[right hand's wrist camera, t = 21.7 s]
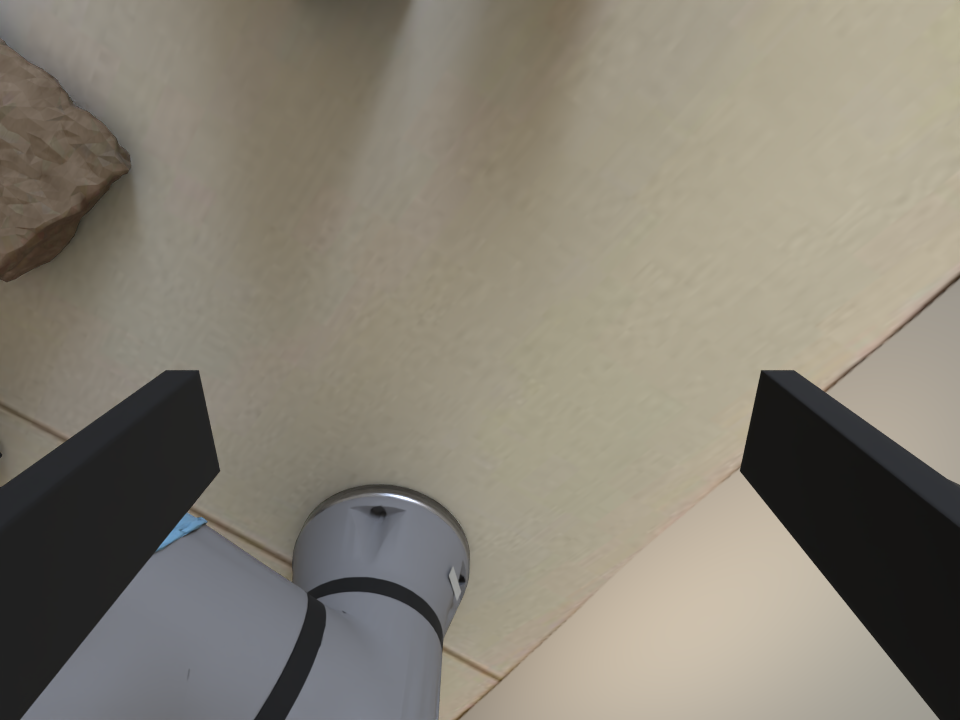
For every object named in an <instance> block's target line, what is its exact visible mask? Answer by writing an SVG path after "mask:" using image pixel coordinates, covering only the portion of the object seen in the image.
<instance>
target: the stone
mask: <svg viewBox="0 0 960 720" xmlns="http://www.w3.org/2000/svg"><path fill="white" fill-rule="evenodd" d="M130 168H131V163H130V155H129V154H128V152H127V151H126V150H125V149H124V148H123V147H121V146H120V145H119V144H118V141H117V139H116V137H115V136H114V135H113V134H112V133H111V132H110V131H109V130H108V128H107V127H106V126H105V125H104V124H103V123H102V122H101V121H99V120H98V119H97V118H95V117H94V116H92V115H91V114H90V113H89V112H87V111H85V110H83V109H81V108H79V107H77V106H75V105H74V104H73V102H72V100H71V99H70V97H69V96H68V94H67V93H66V92H65V91H64V90H63V89H62V88H61V86H60V84H59V82H58V80H57V79H55V78H54V77H53V76H51V75H50V74H48V73H47V72H46V71H44V70H43V69H41V68H39V67H37V66H35V65H33V64H31V63H29V62H28V61H27V60H26V59H24V58H23V57H22V56H21V55H19V54H18V53H17V52H15V51H14V50H13V49H11V48H10V47H8V46H7V45H6V43H5V41H3V40H2V39H0V279H1V280H3V281H6V282H8V281H11V280H14V279H16V278H18V277H19V276H20V275H22V274H24V273H26V272H28V271H30V270H32V269H34V268H36V267H38V266H40V265H42V264H45V263H47V262H50V261H51V260H52V259H53V258H54V257H55V256H57V255H58V254H59V253H60V252H61V251H62V249H63V248H64V247H65V246H66V245H67V244H68V243H69V242H70V240H71V238H72V237H73V236H74V235H75V232H76V229H77V226H78V224H79V222H80V219H81V217H82V216H84V215H85V214H86V213H87V212H88V211H89V210H90V209H91V208H92V207H93V206H94V205H95V204H96V202H97V201H98V200H99V199H100V198H101V197H102V196H103V195H104V194H105V193H106V192H107V191H108V190H109V188H110V186H111V184H112V183H113V182H114V181H116V180H118V179H119V178H120V177H121V176H122V175H123V174H127V173H128V171H129V170H130Z"/></svg>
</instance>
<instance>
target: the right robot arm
mask: <svg viewBox="0 0 960 720" xmlns="http://www.w3.org/2000/svg"><path fill="white" fill-rule="evenodd" d="M219 472H220V468H219V463H218V459H217V454H216V449H215V445H214V440H213V435H212V430H211V426H210V421H209V416H208V412H207V407H206V402H205V397H204V393H203V388H202V383H201V379H200V374H199V370H166V371H164V372H163V373H162V374H160V375H159V376H157V377H156V378H154V379H153V380H152V381H150V382H149V383H147V384H146V385H145V386H143V387H142V388H140V389H139V390H138V391H136V392H135V393H133V394H132V395H131V396H129V397H128V398H126V399H125V400H123V401H122V402H121V403H119V404H118V405H116V406H115V407H114V408H112V409H111V410H109V411H108V412H107V413H105V414H104V415H102V416H101V417H100V418H98V419H97V420H95V421H94V422H92V423H91V424H90V425H88V426H87V427H85V428H84V429H83V430H81V431H80V432H78V433H77V434H76V435H74V436H73V437H71V438H70V439H69V440H67V441H66V442H64V443H63V444H61V445H60V446H59V447H57V448H56V449H54V450H53V451H52V452H50V453H49V454H47V455H46V456H45V457H43V458H42V459H40V460H39V461H38V462H36V463H35V464H33V465H32V466H30V467H29V468H28V469H26V470H25V471H23V472H22V473H21V474H19V475H18V476H16V477H15V478H14V479H12V480H11V481H9V482H8V483H6V484H5V485H4V486H2V487H0V720H438V717H439V700H440V683H441V666H442V649H443V638H444V636H445V634H446V632H447V630H448V628H449V625H450V623H451V621H452V619H453V617H454V615H455V613H456V610H457V608H458V606H459V604H460V602H461V600H462V598H463V595H464V593H465V590H466V587H467V583H468V579H469V565H470V553H469V546H468V542H467V539H466V536H465V533H464V532H463V530H462V528H461V526H460V525H459V523H458V522H457V520H456V519H455V518H454V517H453V515H452V514H451V513H450V512H449V511H448V510H447V509H445V508H444V507H443V506H442V505H440V504H439V503H438V502H436V501H435V500H433V499H431V498H429V497H428V496H426V495H423V494H421V493H419V492H416V491H413V490H410V489H407V488H403V487H398V486H392V485H365V486H359V487H355V488H351V489H347V490H345V491H342V492H339V493H337V494H335V495H333V496H331V497H330V498H328V499H326V500H325V501H324V502H322V503H321V504H320V505H319V506H318V507H317V508H315V509H314V511H313V512H312V513H311V514H310V515H309V517H308V518H307V520H306V522H305V524H304V526H303V528H302V530H301V532H300V534H299V536H298V538H297V541H296V544H295V547H294V552H293V561H292V569H293V581H292V582H291V581H289V580H287V579H286V578H284V577H283V576H281V575H280V574H278V573H277V572H275V571H274V570H272V569H270V568H269V567H267V566H266V565H264V564H263V563H261V562H260V561H259V560H257V559H256V558H254V557H253V556H251V555H250V554H248V553H247V552H245V551H244V550H242V549H241V548H239V547H238V546H236V545H235V544H234V543H232V542H231V541H229V540H228V539H226V538H225V537H223V536H222V535H220V534H219V533H217V532H216V531H214V530H213V529H211V528H210V527H208V526H207V525H206V523H207V522H208V521H206V520H205V519H204V518H202V517H199V518H195V517H194V516H192V515H190V514H189V513H187V512H188V510H189V509H190V508H191V507H192V505H193V504H194V503H195V502H196V500H197V499H198V498H199V497H200V495H201V494H202V493H203V492H204V490H205V489H206V488H207V487H208V485H209V484H210V483H211V482H212V480H213V479H214V478H215V477H216V475H217V474H218V473H219ZM740 472H741V473H742V474H743V475H744V477H745V478H746V479H747V480H748V482H749V483H750V484H751V485H752V487H753V488H754V489H755V490H756V492H757V493H758V494H759V495H760V497H761V498H762V499H763V500H764V502H765V503H766V504H767V505H768V507H769V508H770V509H771V510H772V512H773V513H774V514H775V515H776V517H777V518H778V519H779V520H780V522H781V523H782V524H783V525H784V527H785V528H786V529H787V530H788V531H789V533H790V534H791V535H792V536H793V538H794V539H795V540H796V541H797V543H798V544H799V545H800V546H801V548H802V549H803V550H804V551H805V553H806V554H807V555H808V556H809V558H810V559H811V560H812V561H813V563H814V564H815V565H816V566H817V568H818V569H819V570H820V571H821V573H822V574H823V575H824V576H825V578H826V579H827V580H828V581H829V583H830V584H831V585H832V586H833V588H834V589H835V590H836V591H837V592H838V594H839V595H840V596H841V597H842V599H843V600H844V601H845V602H846V604H847V605H848V606H849V607H850V609H851V610H852V611H853V612H854V614H855V615H856V616H857V617H858V619H859V620H860V621H861V622H862V624H863V625H864V626H865V627H866V629H867V630H868V631H869V632H870V633H871V635H872V636H873V637H874V638H875V640H876V641H877V642H878V644H879V645H880V646H881V647H882V649H883V650H884V651H885V652H886V653H887V655H888V656H889V657H890V658H891V660H892V661H893V662H894V663H895V665H896V666H897V667H898V668H899V670H900V671H901V672H902V673H903V675H904V676H905V677H906V678H907V680H908V681H909V682H910V683H911V685H912V686H913V687H914V688H915V690H916V691H917V692H918V693H919V695H920V696H921V697H922V698H923V700H924V701H925V702H926V703H927V705H928V706H929V707H930V708H931V709H932V711H933V712H934V713H935V714H936V716H937V717H938V718H939V719H940V720H960V485H959V484H957V483H955V482H952V481H950V480H948V479H946V478H945V477H944V476H942V475H941V474H939V473H938V472H937V471H935V470H934V469H932V468H931V467H929V466H928V465H927V464H925V463H924V462H922V461H921V460H920V459H918V458H917V457H915V456H914V455H913V454H911V453H910V452H908V451H907V450H906V449H904V448H903V447H901V446H900V445H898V444H897V443H896V442H894V441H893V440H891V439H890V438H889V437H887V436H886V435H884V434H883V433H882V432H880V431H879V430H877V429H876V428H875V427H873V426H872V425H870V424H869V423H868V422H866V421H865V420H863V419H862V418H860V417H859V416H858V415H856V414H855V413H853V412H852V411H851V410H849V409H848V408H846V407H845V406H844V405H842V404H841V403H839V402H838V401H837V400H835V399H834V398H832V397H831V396H829V395H828V394H827V393H825V392H824V391H822V390H821V389H820V388H818V387H817V386H815V385H814V384H813V383H811V382H810V381H808V380H807V379H806V378H804V377H803V376H801V375H800V374H798V373H797V372H796V371H794V370H761V374H760V379H759V383H758V388H757V393H756V397H755V402H754V407H753V412H752V416H751V421H750V426H749V430H748V435H747V440H746V445H745V449H744V454H743V459H742V463H741V468H740Z"/></svg>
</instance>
